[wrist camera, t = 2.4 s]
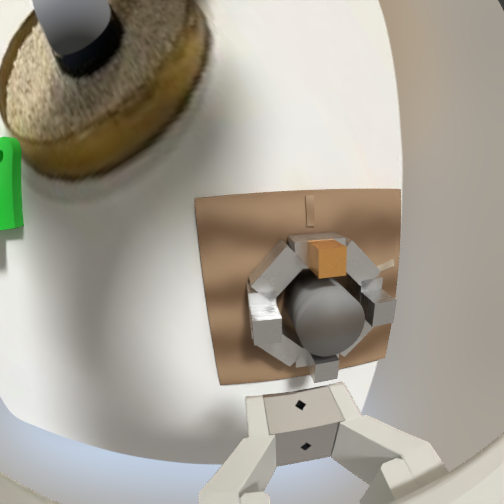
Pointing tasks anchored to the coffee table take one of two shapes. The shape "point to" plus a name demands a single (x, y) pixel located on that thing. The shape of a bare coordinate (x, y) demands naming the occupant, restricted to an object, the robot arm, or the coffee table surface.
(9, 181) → the mechanical part
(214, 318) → the base plate
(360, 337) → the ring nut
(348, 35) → the coffee table surface
